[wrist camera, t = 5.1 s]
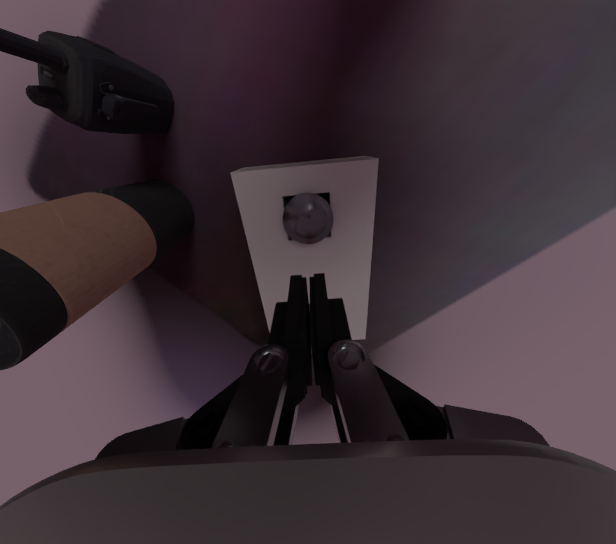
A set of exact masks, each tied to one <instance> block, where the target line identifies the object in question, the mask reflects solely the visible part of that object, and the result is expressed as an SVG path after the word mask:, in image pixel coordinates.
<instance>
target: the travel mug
mask: <svg viewBox="0 0 616 544" xmlns="http://www.w3.org/2000/svg"><path fill="white" fill-rule="evenodd" d="M193 222H194V213H193V209H192V206H191V204H190V202H189V201H188V199H187V198H186V196H185V195H184V194H183V193H182V192H181V191H180V190H178V189H177V188H176V187H174V186H172V185H170V184H168V183H165V182H162V181H146V182H140V183H135V184H129V185H124V186H118V187H113V188H107V189H102V190H97V191H91V192H86V193H81V194H77V195H73V196H69V197H64V198H60V199H56V200H52V201H48V202H43V203H39V204H35V205H31V206H26V207H22V208H18V209H14V210H10V211H6V212H1V213H0V370H4V369H8V368H10V367H13V366H15V365H17V364H18V363H20V362H22V361H23V360H24V359H26V358H27V357H29V356H30V355H31V354H33V353H34V352H35V351H37V350H38V349H39V348H41V347H42V346H43V345H45V344H46V343H47V342H48V341H50V340H51V339H52V338H54V337H55V336H56V335H58V334H59V333H60V332H62V331H63V330H64V329H66V328H67V327H68V326H70V325H71V324H72V323H74V322H75V321H76V320H78V319H79V318H80V317H82V316H83V315H84V314H86V313H87V312H88V311H89V310H91V309H92V308H94V307H95V306H96V305H98V304H99V303H100V302H101V301H102V300H104V299H105V298H107V297H108V296H109V295H111V294H112V293H113V292H115V291H116V290H117V289H119V288H120V287H121V286H122V285H124V284H125V283H127V282H128V281H129V280H130V279H132V278H133V277H134V276H136V275H137V274H138V273H140V272H141V271H142V270H144V269H145V268H146V267H148V266H149V265H150V264H151V263H153V262H154V261H155V260H156V259H157V258H158V257H160V256H161V255H162V254H163V253H164V252H165V251H167V250H168V249H169V248H170V247H171V246H173V245H174V244H175V243H176V242H177V241H178V240H180V239H181V238H182V237H183V236H184V235H185V234H186V233H188V232H189V230H190V229H191V227H192V225H193Z"/></svg>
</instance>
